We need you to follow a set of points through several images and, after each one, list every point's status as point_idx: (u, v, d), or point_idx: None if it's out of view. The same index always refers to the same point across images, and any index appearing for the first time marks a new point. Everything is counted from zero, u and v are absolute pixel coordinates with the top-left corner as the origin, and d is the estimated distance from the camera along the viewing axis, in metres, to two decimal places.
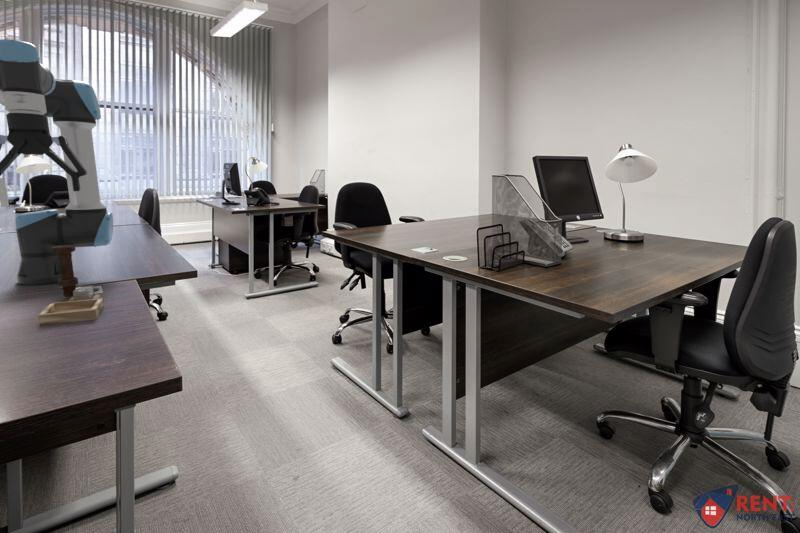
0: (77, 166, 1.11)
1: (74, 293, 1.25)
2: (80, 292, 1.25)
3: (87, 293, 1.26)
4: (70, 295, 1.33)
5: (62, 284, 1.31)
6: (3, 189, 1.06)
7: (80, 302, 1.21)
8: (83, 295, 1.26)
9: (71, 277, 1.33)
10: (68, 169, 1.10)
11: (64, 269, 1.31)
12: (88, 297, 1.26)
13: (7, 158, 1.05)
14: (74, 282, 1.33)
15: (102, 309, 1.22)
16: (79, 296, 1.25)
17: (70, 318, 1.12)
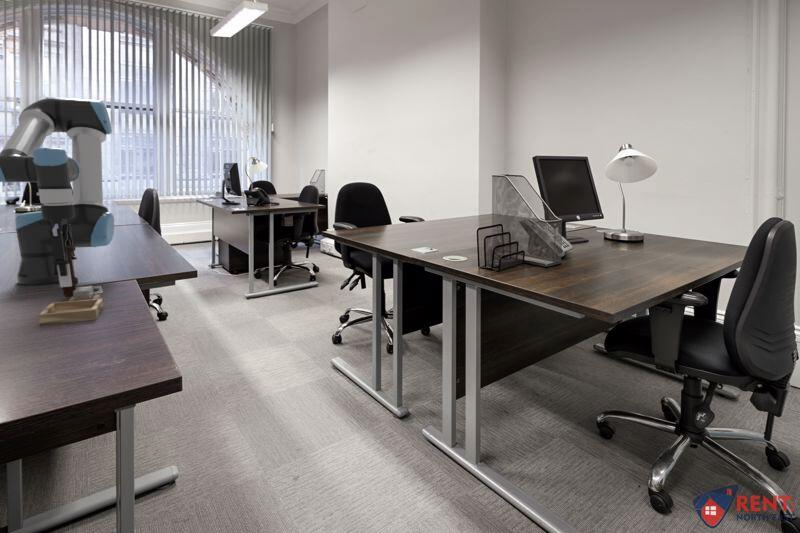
0: None
1: (74, 293, 1.25)
2: (80, 292, 1.25)
3: (87, 293, 1.26)
4: (70, 295, 1.33)
5: None
6: None
7: (80, 302, 1.21)
8: (83, 295, 1.26)
9: (71, 277, 1.33)
10: None
11: None
12: (88, 297, 1.26)
13: None
14: (74, 282, 1.33)
15: (102, 309, 1.22)
16: (79, 296, 1.25)
17: (70, 318, 1.12)
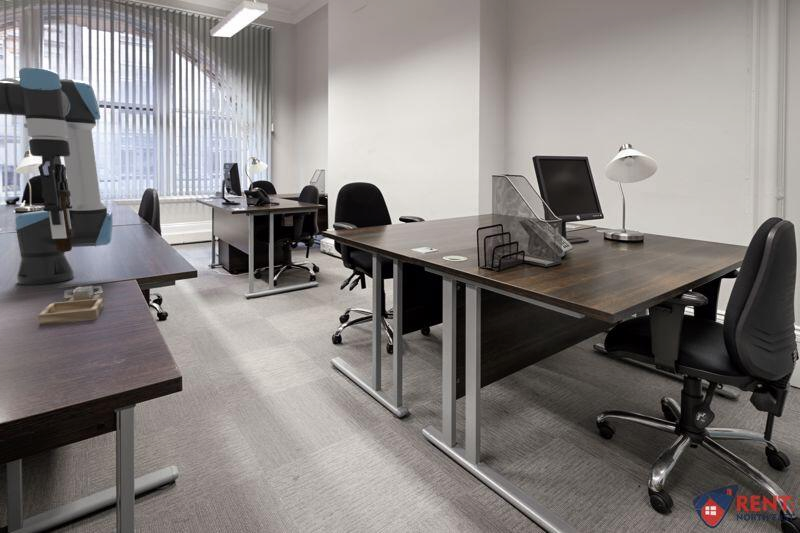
0: None
1: (74, 293, 1.25)
2: (80, 292, 1.25)
3: (87, 293, 1.26)
4: (64, 249, 1.12)
5: None
6: None
7: (80, 302, 1.21)
8: (83, 295, 1.26)
9: None
10: None
11: None
12: (88, 297, 1.26)
13: None
14: (69, 234, 1.12)
15: (102, 309, 1.22)
16: (79, 296, 1.25)
17: (70, 318, 1.12)
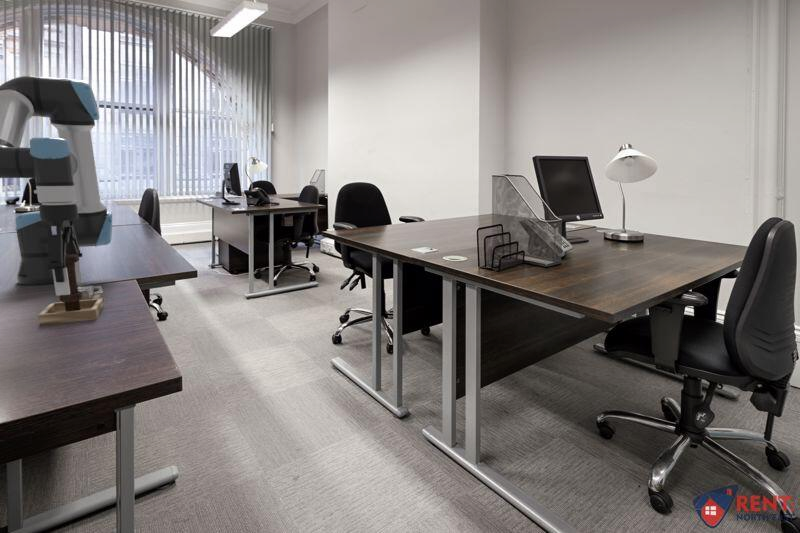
0: None
1: None
2: None
3: (87, 293, 1.26)
4: None
5: (63, 300, 1.14)
6: None
7: (80, 302, 1.21)
8: (83, 295, 1.26)
9: (74, 291, 1.15)
10: None
11: None
12: (88, 297, 1.26)
13: None
14: (78, 297, 1.15)
15: (102, 309, 1.22)
16: None
17: (70, 318, 1.12)
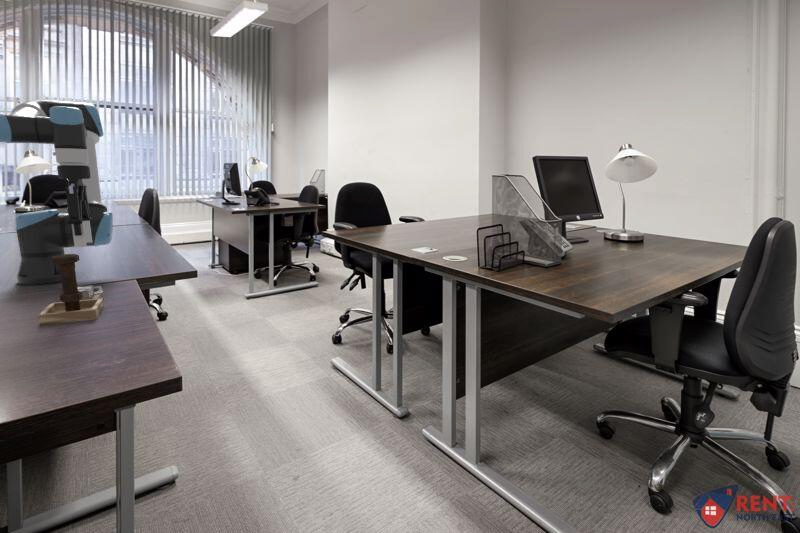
0: None
1: None
2: None
3: (87, 293, 1.26)
4: None
5: (63, 300, 1.14)
6: None
7: (80, 302, 1.21)
8: (83, 295, 1.26)
9: (74, 291, 1.15)
10: None
11: (66, 282, 1.13)
12: (88, 297, 1.26)
13: None
14: (78, 297, 1.15)
15: (102, 309, 1.22)
16: None
17: (70, 318, 1.12)
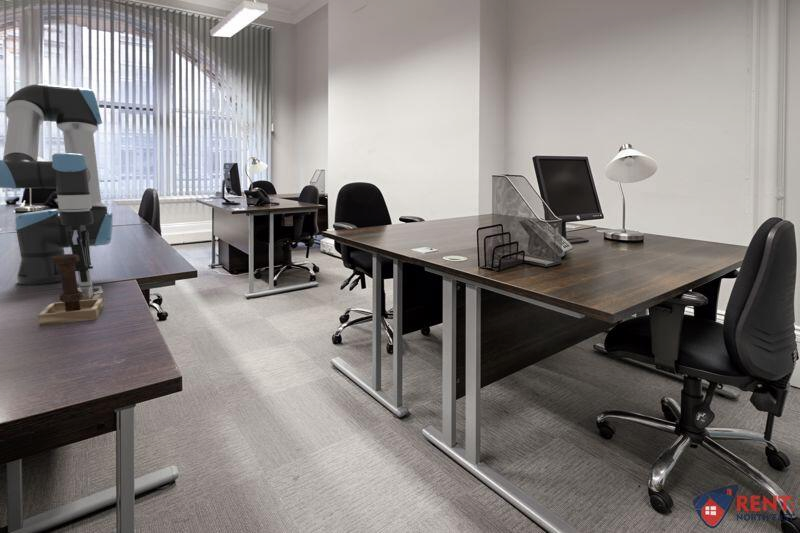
0: None
1: None
2: None
3: (87, 293, 1.26)
4: None
5: (63, 300, 1.14)
6: None
7: (80, 302, 1.21)
8: (83, 295, 1.25)
9: (74, 291, 1.15)
10: None
11: (66, 282, 1.13)
12: (88, 297, 1.26)
13: None
14: (78, 297, 1.15)
15: (102, 309, 1.22)
16: None
17: (70, 318, 1.12)
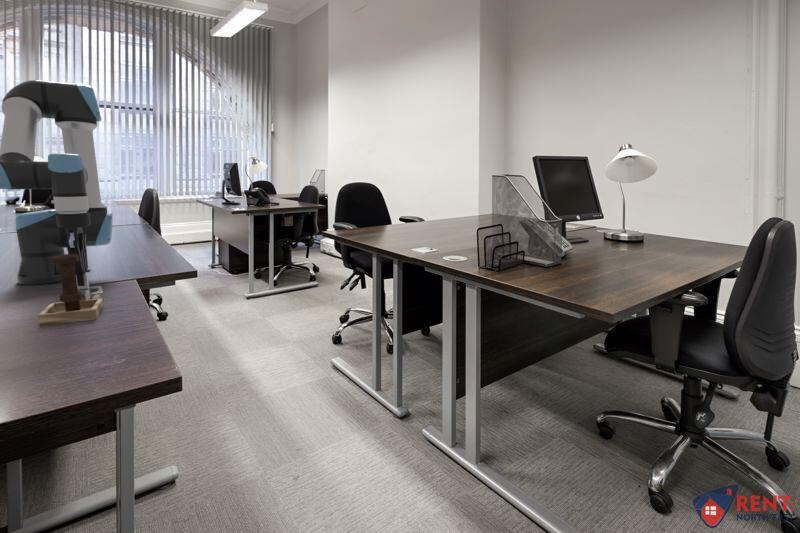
0: None
1: None
2: None
3: (84, 297, 1.22)
4: None
5: (63, 300, 1.14)
6: None
7: (80, 302, 1.21)
8: None
9: (74, 291, 1.15)
10: None
11: (66, 282, 1.13)
12: None
13: None
14: (78, 297, 1.15)
15: (102, 309, 1.22)
16: None
17: (70, 318, 1.12)
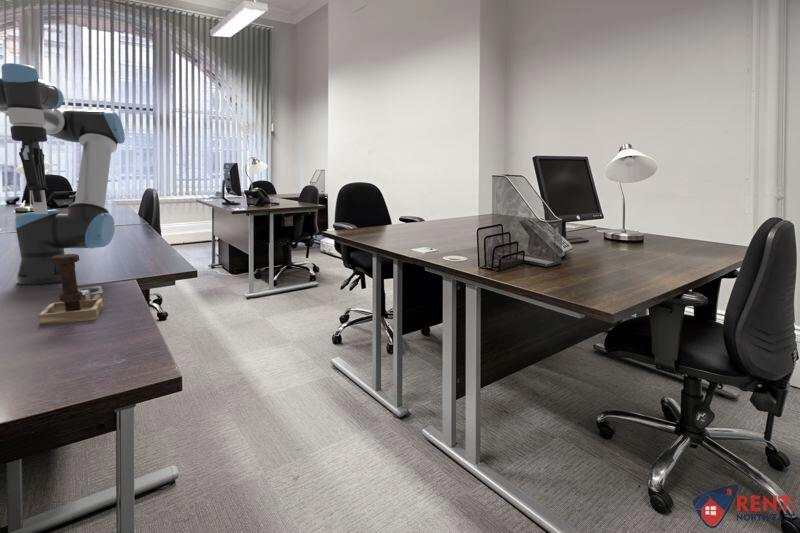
0: None
1: None
2: None
3: (84, 297, 1.22)
4: None
5: (63, 300, 1.14)
6: None
7: (80, 302, 1.21)
8: None
9: (74, 291, 1.15)
10: None
11: (66, 282, 1.13)
12: None
13: None
14: (78, 297, 1.15)
15: (102, 309, 1.22)
16: None
17: (70, 318, 1.12)
